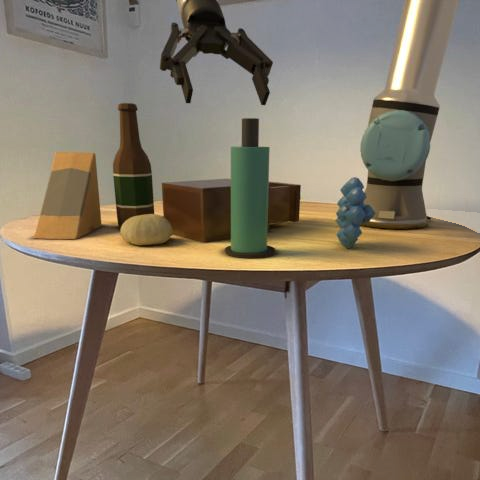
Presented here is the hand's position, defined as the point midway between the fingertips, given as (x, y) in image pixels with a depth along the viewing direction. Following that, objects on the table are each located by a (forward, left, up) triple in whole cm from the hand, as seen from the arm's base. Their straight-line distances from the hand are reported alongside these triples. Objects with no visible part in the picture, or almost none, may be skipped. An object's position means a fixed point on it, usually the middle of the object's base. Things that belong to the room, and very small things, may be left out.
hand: (228, 97), depth 79 cm
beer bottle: (+7, -23, -24) cm, 34 cm away
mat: (+4, +10, -24) cm, 26 cm away
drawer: (-16, -8, -23) cm, 29 cm away
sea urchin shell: (+13, -8, -24) cm, 29 cm away
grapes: (-12, +19, -24) cm, 33 cm away
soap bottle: (+4, +10, -24) cm, 26 cm away
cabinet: (-3, -8, -24) cm, 26 cm away
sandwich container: (+20, -27, -24) cm, 41 cm away
